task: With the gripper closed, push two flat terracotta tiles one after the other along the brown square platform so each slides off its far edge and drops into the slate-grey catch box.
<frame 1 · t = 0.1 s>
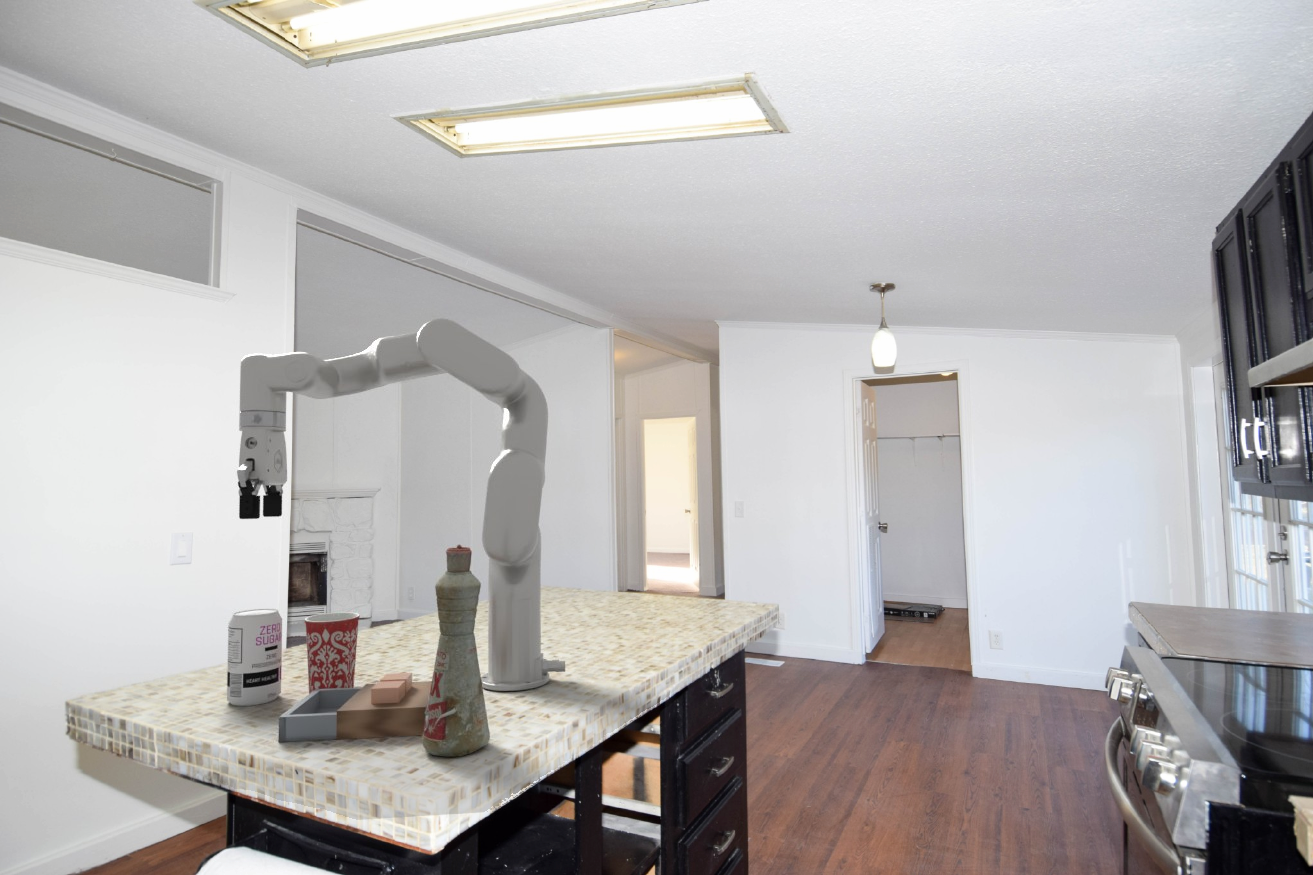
hand: (261, 517, 135), 31 cm above the counter, fingers open, 9 cm apart
bottle: (456, 750, 103), on the counter
catch box: (325, 724, 115), on the counter
tile a: (388, 699, 114), point 4 cm above the counter, touching brown square platform
mug: (334, 691, 134), on the counter
brown square platform: (395, 720, 116), on the counter
supplement can: (254, 701, 129), on the counter
tile b: (396, 690, 119), point 4 cm above the counter, touching brown square platform
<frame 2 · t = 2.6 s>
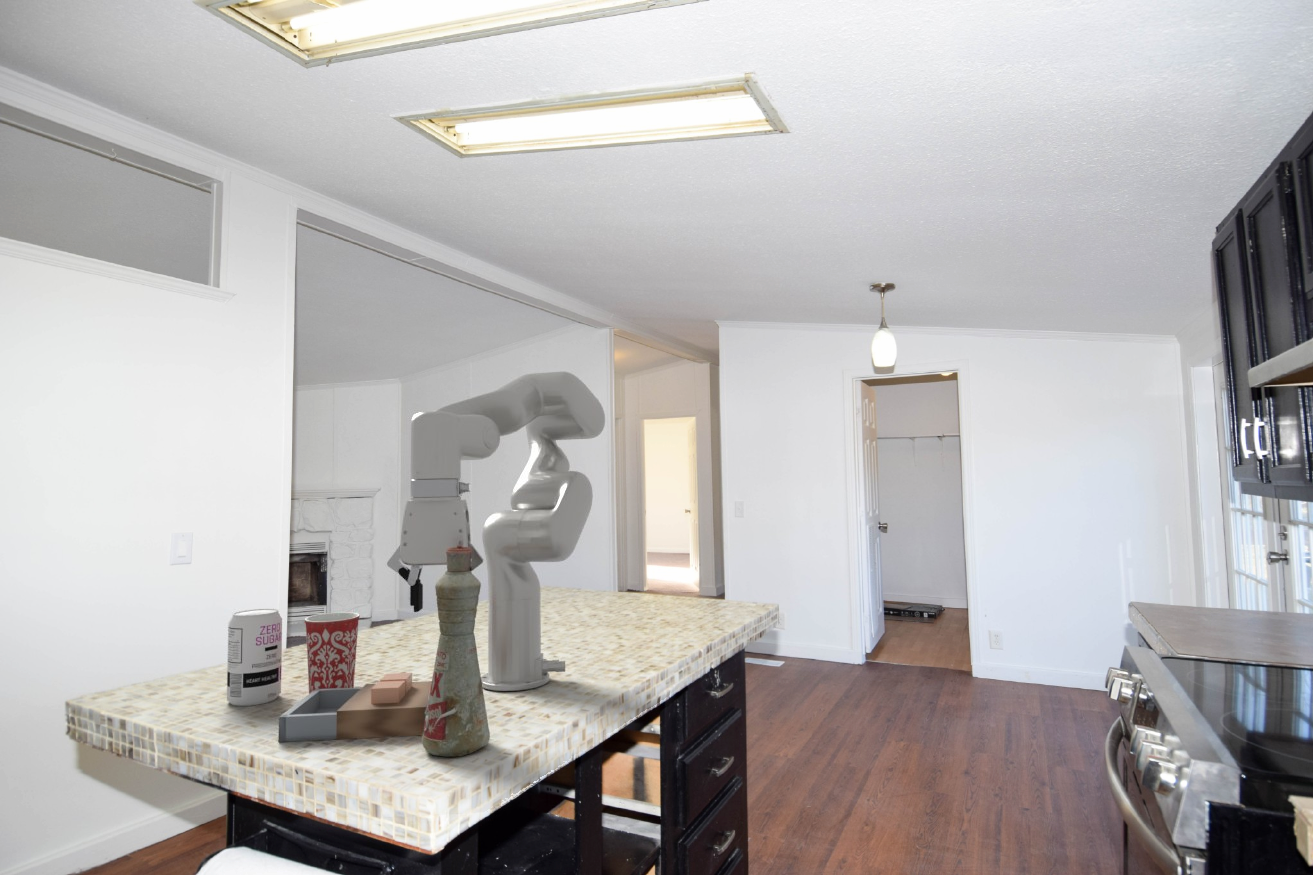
hand: (435, 608, 115), 17 cm above the counter, fingers open, 4 cm apart
nothing on the counter moved.
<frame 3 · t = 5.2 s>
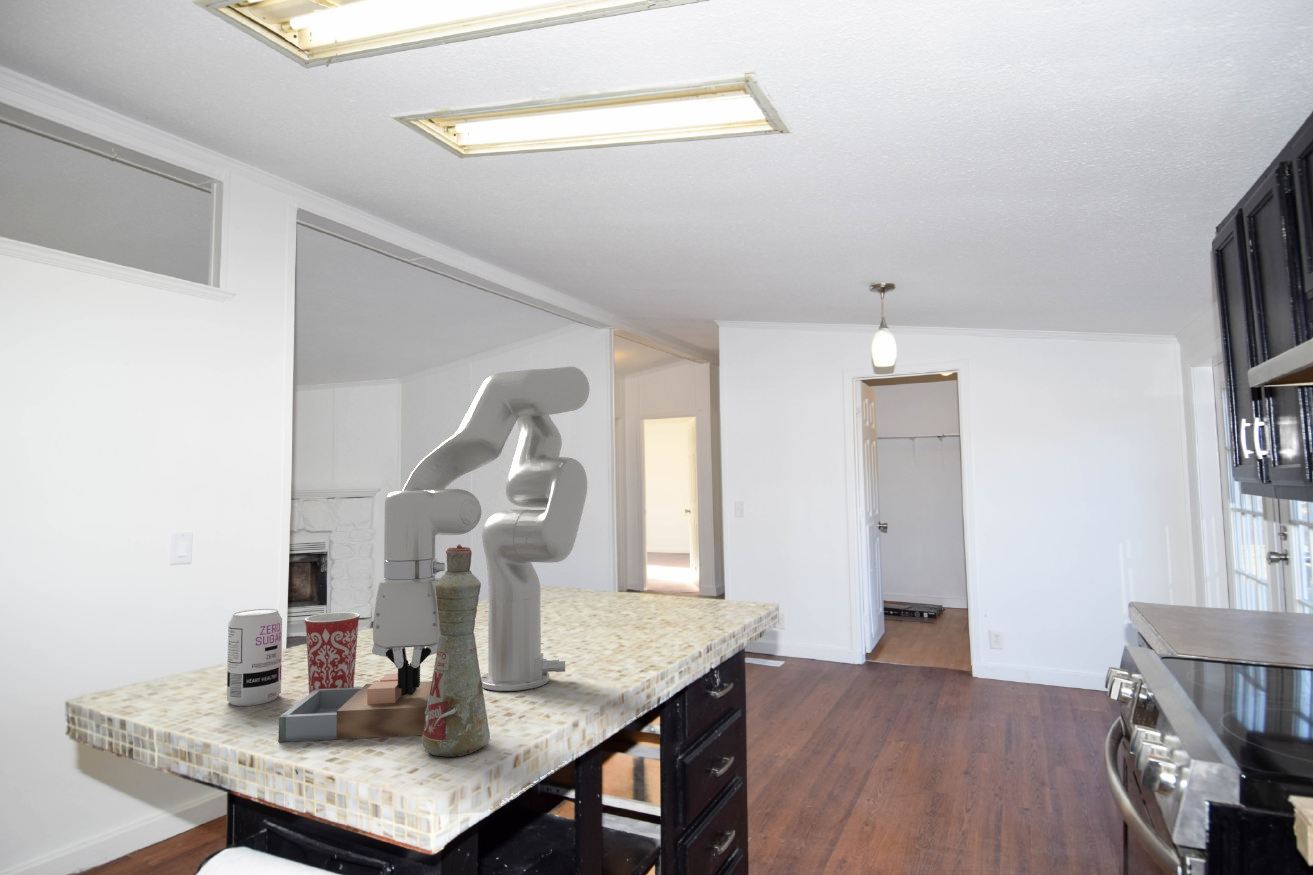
hand: (408, 692, 114), 5 cm above the counter, fingers closed
tile a: (384, 699, 114), point 4 cm above the counter, touching brown square platform, gripper
everything else where it was.
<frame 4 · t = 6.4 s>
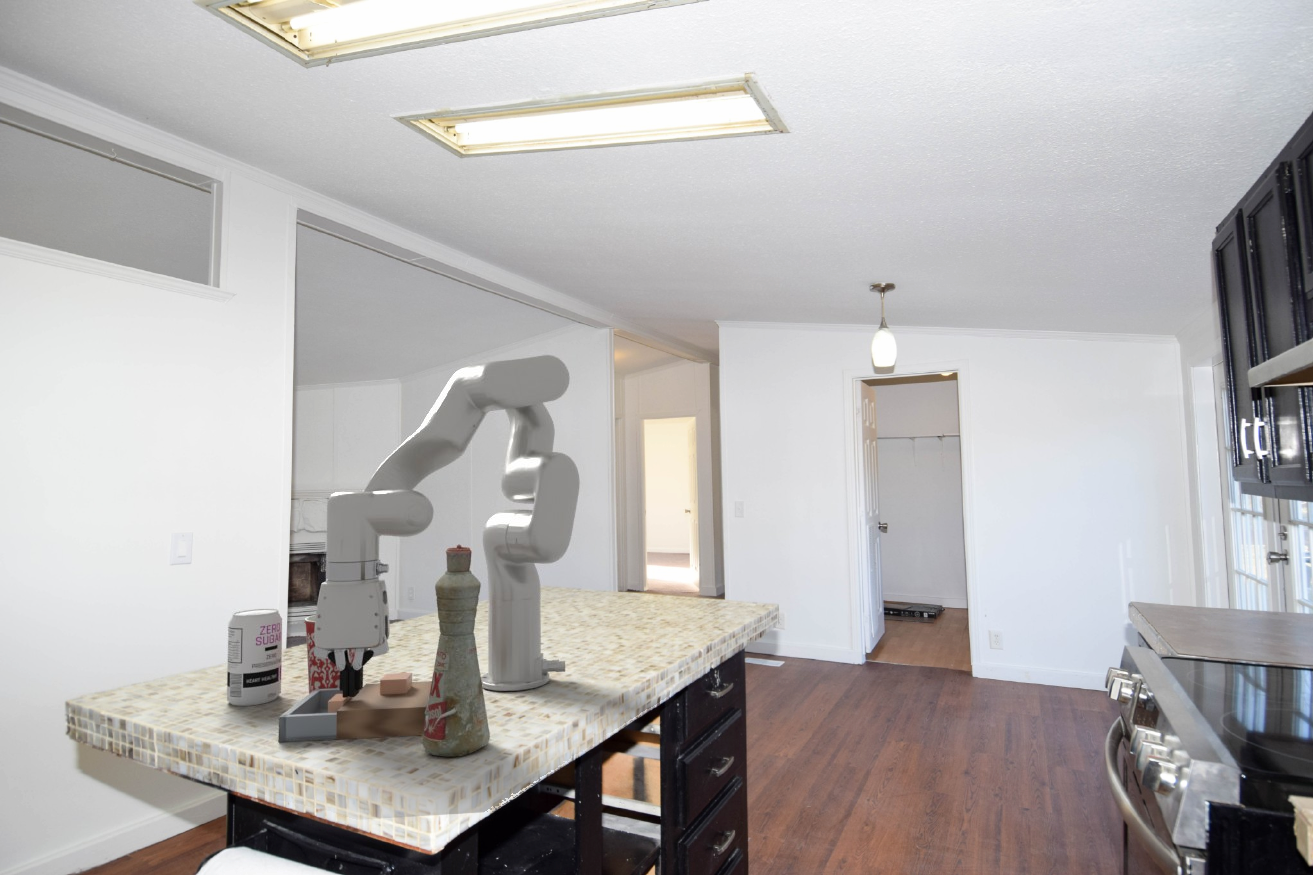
hand: (351, 694, 113), 5 cm above the counter, fingers closed
tile a: (347, 710, 113), point 3 cm above the counter, tilted 90°, touching catch box
everything else where it was.
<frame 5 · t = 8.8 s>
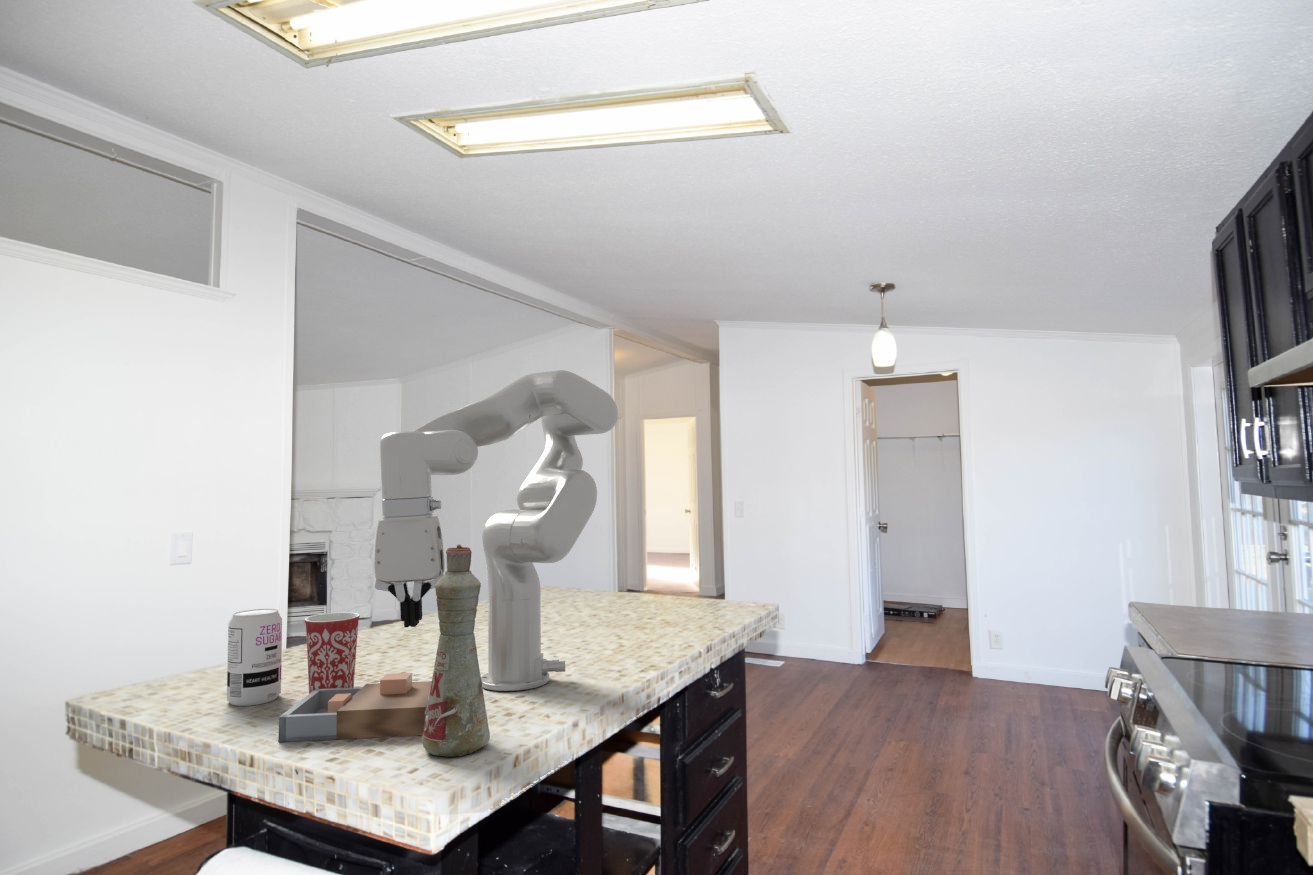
hand: (411, 624, 119), 14 cm above the counter, fingers closed
nothing on the counter moved.
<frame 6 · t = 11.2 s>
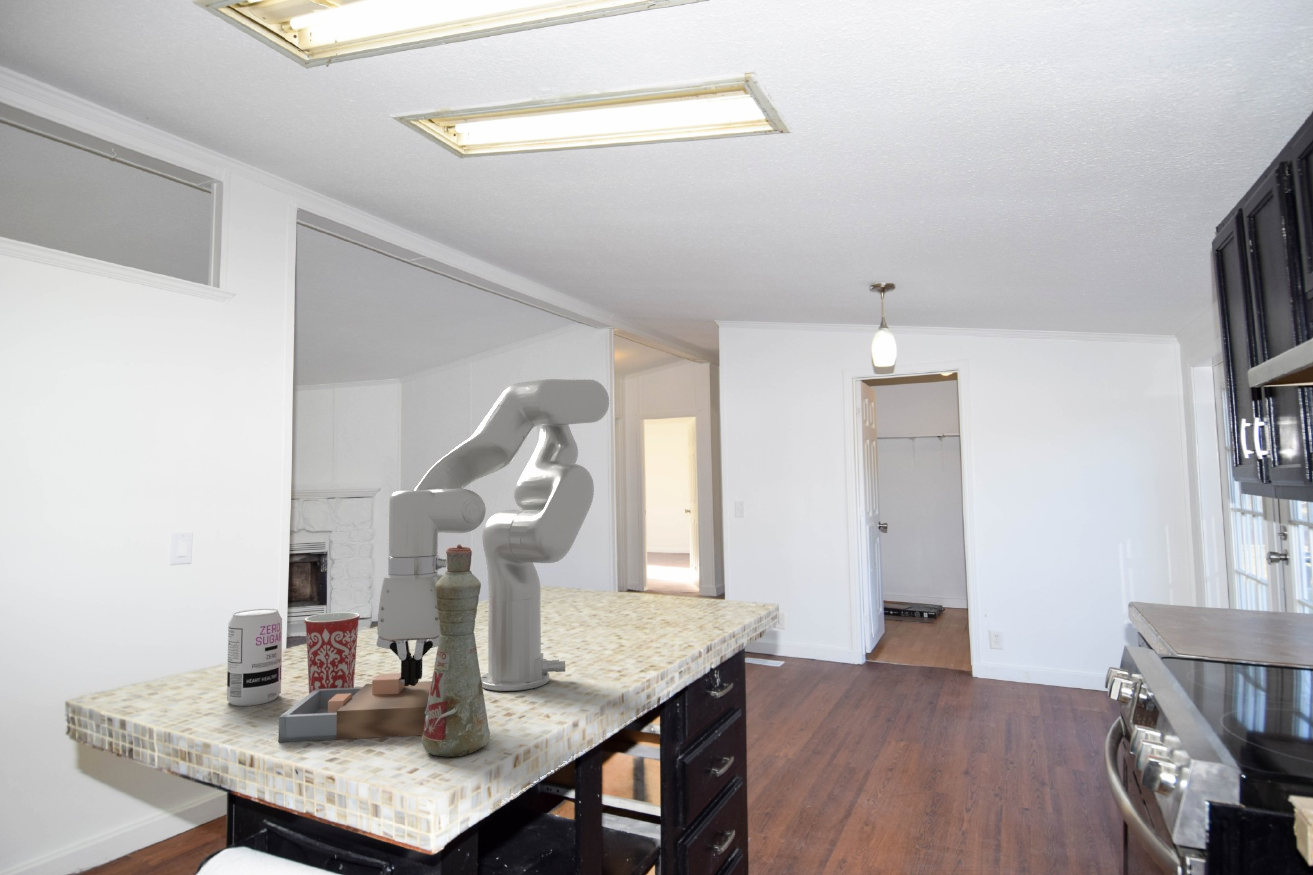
hand: (411, 683, 119), 5 cm above the counter, fingers closed
tile b: (389, 690, 119), point 4 cm above the counter, touching gripper
everything else where it was.
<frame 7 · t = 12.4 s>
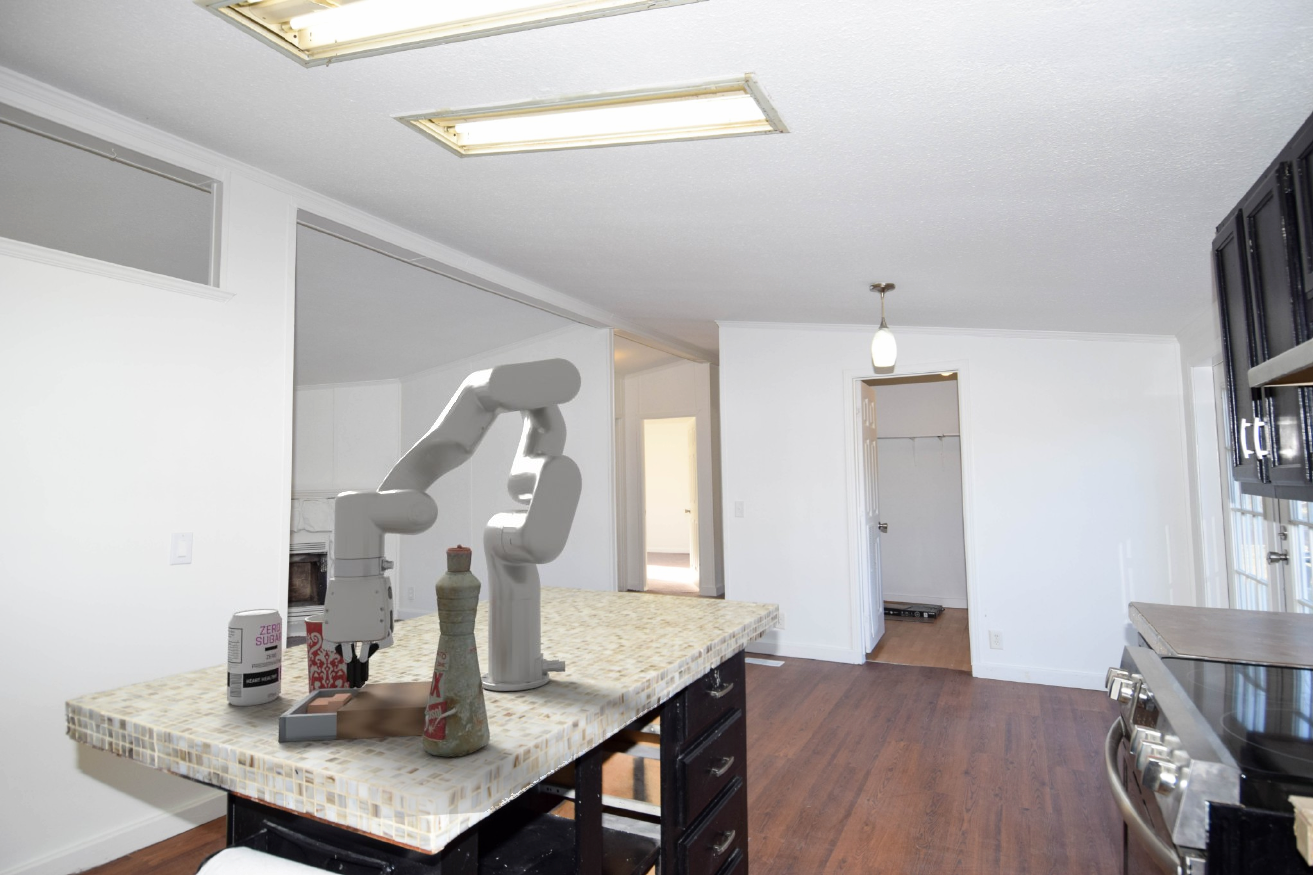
hand: (357, 686, 118), 5 cm above the counter, fingers closed
tile b: (325, 700, 118), point 3 cm above the counter, tilted 180°, touching catch box
everything else where it was.
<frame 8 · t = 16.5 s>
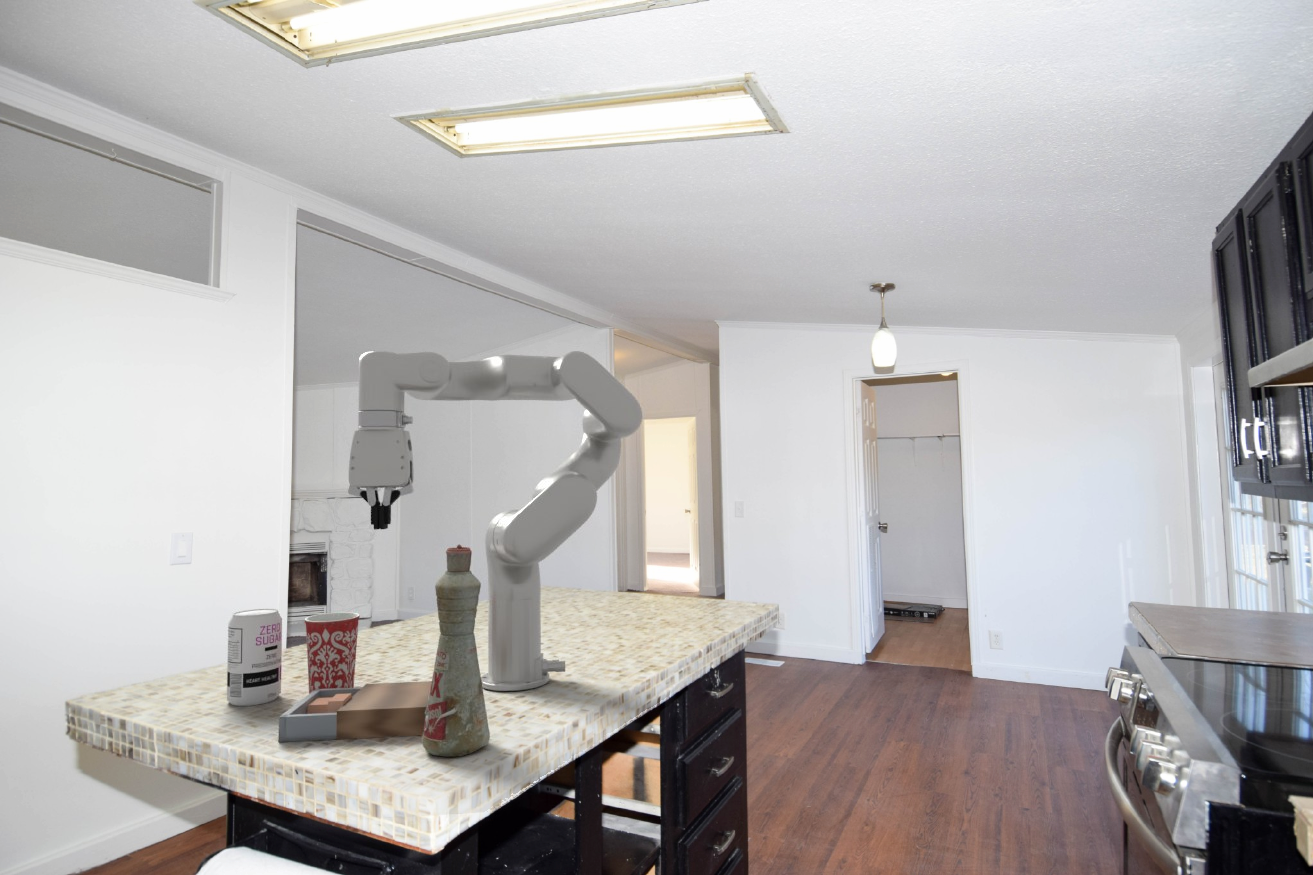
hand: (380, 528, 129), 29 cm above the counter, fingers closed
nothing on the counter moved.
at the end: tile a inside the target area on the catch box (4.2 cm from its centre), point 2.6 cm above the catch box's base; tile b inside the target area on the catch box (3.0 cm from its centre), point 2.8 cm above the catch box's base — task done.
